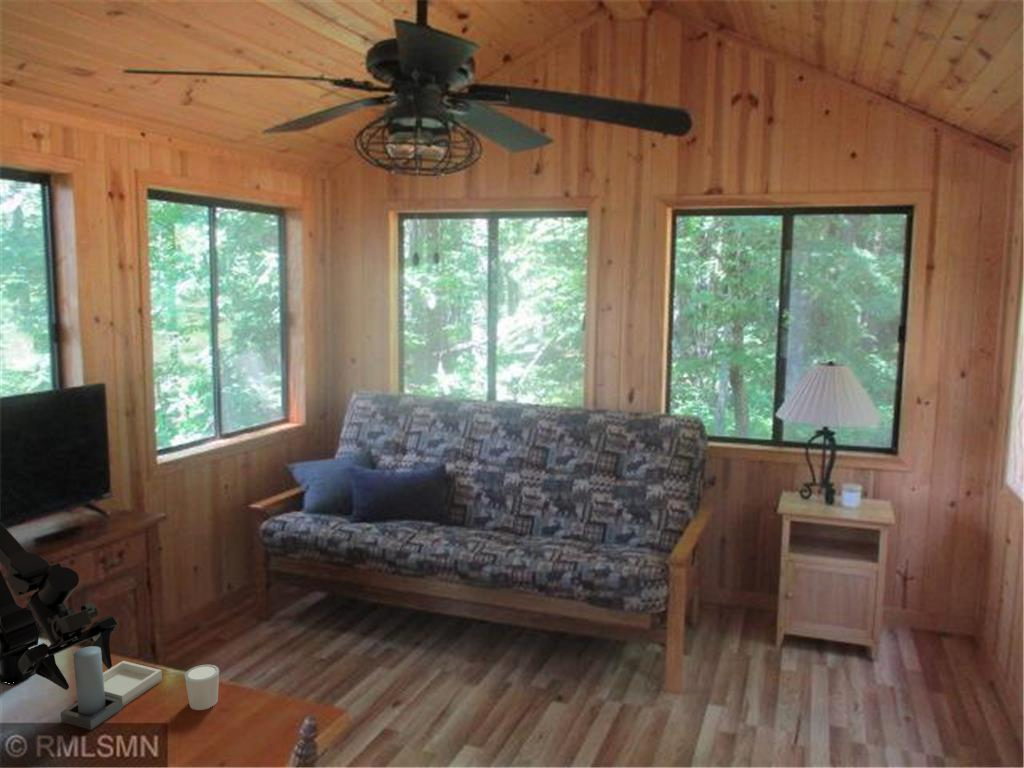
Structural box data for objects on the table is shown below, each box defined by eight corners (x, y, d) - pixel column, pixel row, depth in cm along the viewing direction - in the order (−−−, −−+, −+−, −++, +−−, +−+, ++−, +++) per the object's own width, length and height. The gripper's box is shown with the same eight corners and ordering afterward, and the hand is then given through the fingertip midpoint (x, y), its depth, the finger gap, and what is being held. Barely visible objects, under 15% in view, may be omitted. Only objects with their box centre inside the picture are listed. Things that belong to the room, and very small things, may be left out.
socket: (61, 721, 162) (60, 712, 162) (93, 700, 170) (93, 692, 169) (91, 730, 160) (90, 721, 159) (122, 708, 167) (122, 699, 167)
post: (73, 719, 163) (67, 655, 161) (93, 705, 168) (88, 644, 165) (91, 724, 162) (86, 660, 159) (111, 711, 166) (106, 648, 164)
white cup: (226, 694, 173) (224, 665, 172) (211, 713, 166) (209, 682, 165) (196, 692, 174) (194, 662, 172) (180, 710, 167) (178, 679, 166)
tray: (83, 695, 171) (82, 685, 171) (123, 670, 182) (123, 660, 181) (123, 706, 168) (122, 695, 167) (162, 680, 178) (161, 670, 177)
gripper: (20, 613, 155) (58, 681, 151) (109, 579, 171) (146, 640, 167) (2, 640, 160) (38, 707, 157) (90, 605, 176) (125, 664, 173)
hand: (89, 678), depth 163 cm, fingers open, 9 cm apart
